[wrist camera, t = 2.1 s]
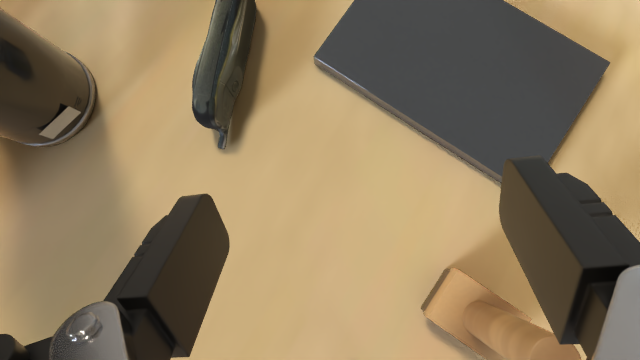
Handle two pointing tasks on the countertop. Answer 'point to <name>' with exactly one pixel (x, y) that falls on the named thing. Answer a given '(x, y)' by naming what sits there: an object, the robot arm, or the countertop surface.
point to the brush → (490, 322)
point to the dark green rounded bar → (222, 64)
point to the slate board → (465, 74)
